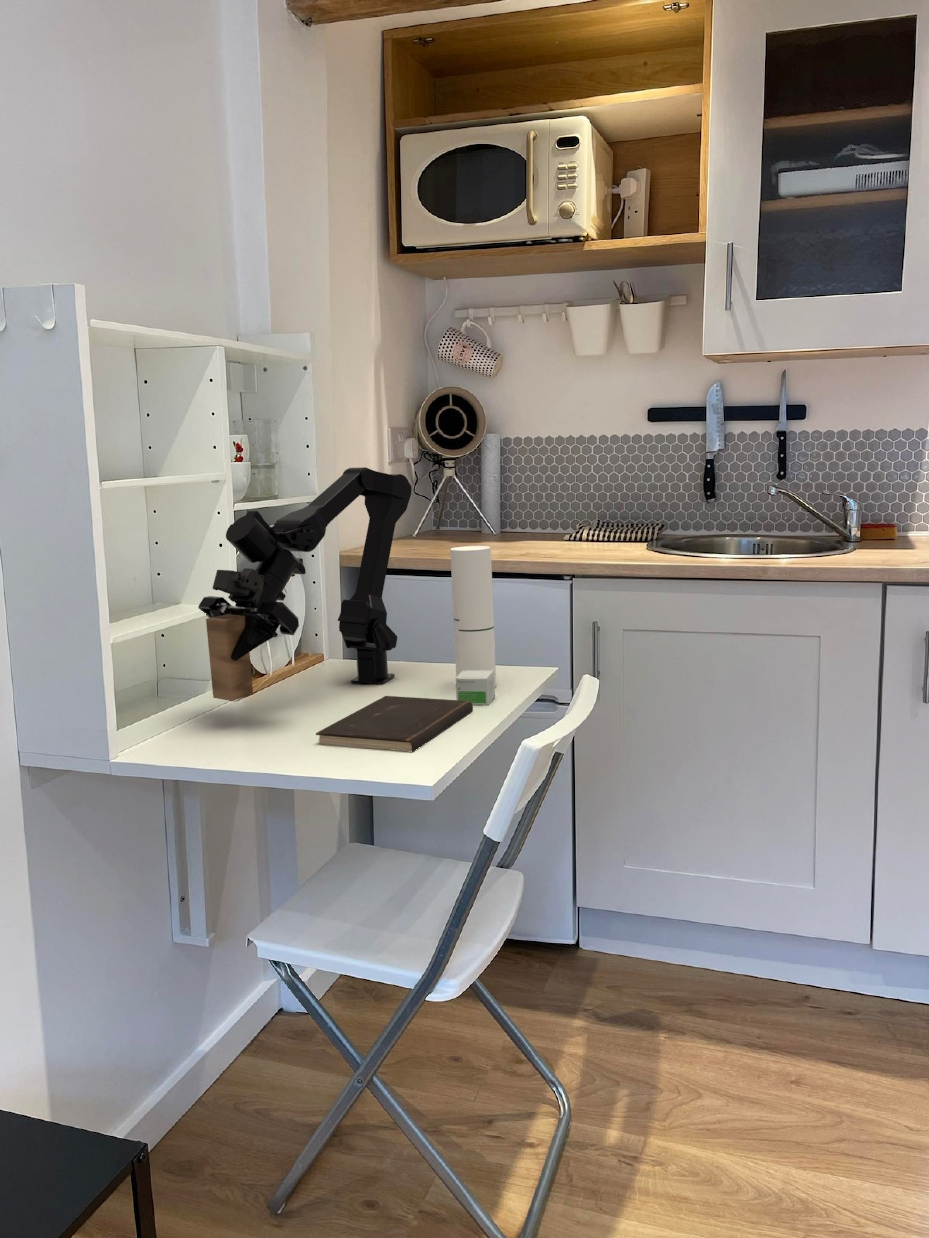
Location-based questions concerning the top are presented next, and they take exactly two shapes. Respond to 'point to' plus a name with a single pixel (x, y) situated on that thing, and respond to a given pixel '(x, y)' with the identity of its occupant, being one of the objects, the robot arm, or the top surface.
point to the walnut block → (228, 658)
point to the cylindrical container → (473, 608)
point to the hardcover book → (396, 723)
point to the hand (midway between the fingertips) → (223, 657)
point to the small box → (475, 686)
